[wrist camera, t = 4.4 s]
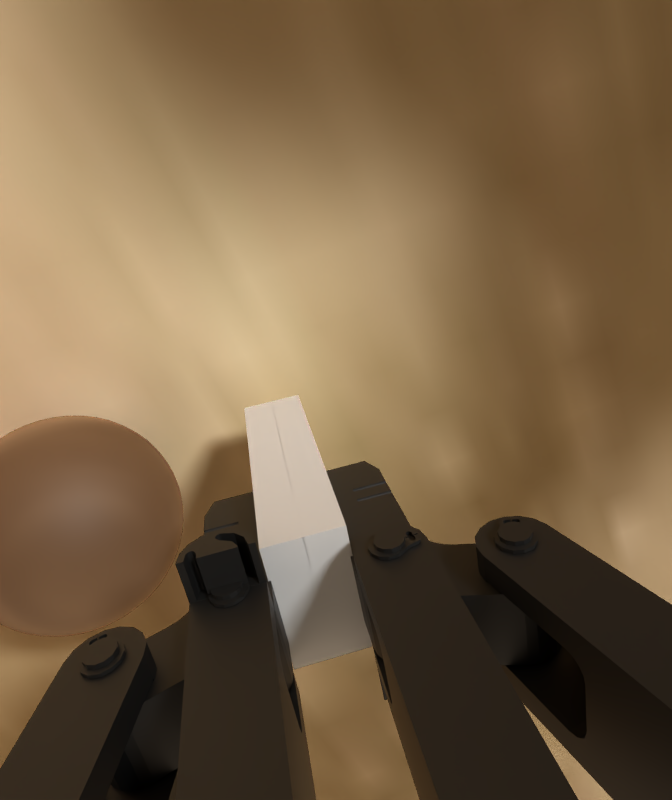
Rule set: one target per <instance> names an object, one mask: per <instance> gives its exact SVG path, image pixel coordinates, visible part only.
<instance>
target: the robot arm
mask: <svg viewBox="0 0 672 800" xmlns="http://www.w3.org/2000/svg"><path fill="white" fill-rule="evenodd" d="M244 409H245V419H246V428H247V438H248V447H249V457H250V467H251V476H252V486H253V492H251V493H247V494H243V495H239V496H235V497H231V498H228V499H224V500H220V501H216V502H214V503H213V505H212V506H211V508H210V509H209V511H208V512H207V514H206V515H205V520H204V535H203V536H201V537H199V538H198V539H196V540H195V541H193V542H191V543H190V544H188V545H187V547H186V548H185V549H184V550H183V551H182V552H181V553H180V554H179V556H178V559H177V561H176V567H177V570H178V572H179V575H180V578H181V581H182V584H183V586H184V589H185V592H186V595H187V597H188V600H189V603H190V606H189V612H188V613H187V614H186V615H185V616H183V617H182V618H181V619H180V620H179V621H177V622H176V623H174V624H172V625H171V626H169V627H168V628H166V629H164V630H162V631H160V632H158V633H156V634H154V635H152V636H151V637H149V638H147V639H145V637H144V635H143V632H141V631H139V630H137V629H136V628H134V627H116V628H113V629H109V630H105V631H103V632H101V633H99V634H97V635H95V636H93V637H91V638H89V639H87V640H86V641H85V642H83V643H82V644H81V645H80V646H78V647H77V648H76V649H75V650H74V651H73V652H72V653H71V654H70V656H69V657H68V658H67V659H66V661H65V662H64V663H63V665H62V666H61V668H60V670H59V671H58V673H57V675H56V676H55V678H54V680H53V681H52V683H51V685H50V686H49V688H48V690H47V691H46V693H45V695H44V697H43V698H42V700H41V702H40V703H39V705H38V707H37V708H36V710H35V712H34V713H33V715H32V717H31V718H30V720H29V722H28V723H27V725H26V727H25V728H24V730H23V732H22V733H21V735H20V737H19V738H18V740H17V742H16V743H15V745H14V747H13V748H12V750H11V752H10V753H9V755H8V757H7V758H6V760H5V762H4V764H3V765H2V767H1V769H0V800H316V796H315V790H314V783H313V777H312V771H311V764H310V758H309V751H308V745H307V739H306V732H305V726H304V720H303V713H302V707H301V701H300V694H299V690H298V687H297V684H296V680H295V677H294V673H293V668H294V669H298V668H301V667H304V666H308V665H311V664H315V663H318V662H321V661H325V660H328V659H331V658H335V657H338V656H342V655H345V654H348V653H352V652H355V651H358V650H362V649H365V648H369V647H372V645H373V649H374V653H375V658H376V663H377V667H378V672H379V677H380V681H381V686H382V690H383V695H384V700H387V699H388V702H389V705H390V709H391V712H392V715H393V718H394V721H395V724H396V727H397V730H398V734H399V737H400V740H401V743H402V746H403V749H404V752H405V755H406V759H407V762H408V765H409V768H410V771H411V774H412V777H413V780H414V784H415V787H416V790H417V793H418V796H419V799H420V800H578V798H577V796H576V795H575V793H574V791H573V790H572V788H571V786H570V784H569V783H568V781H567V779H566V777H565V776H564V774H563V772H562V771H561V769H560V767H559V765H558V764H557V762H556V760H555V758H554V757H553V755H552V753H551V752H550V750H549V748H548V746H547V745H546V743H545V741H544V739H543V738H542V736H541V734H540V733H539V731H538V729H537V727H536V726H535V724H534V722H533V720H532V719H531V717H530V715H529V713H528V712H527V710H526V708H525V707H524V705H525V706H526V707H527V708H528V709H529V710H530V711H531V712H532V713H533V714H534V715H535V716H536V717H537V718H538V719H539V721H540V722H541V723H542V724H543V725H544V726H545V727H546V728H547V729H548V730H549V731H550V732H551V733H552V734H553V736H554V737H555V738H556V739H557V740H558V741H559V742H560V743H561V744H562V745H563V746H564V747H565V748H566V749H567V750H568V752H569V753H570V754H571V755H572V756H573V757H574V758H575V759H576V760H577V761H578V762H579V763H580V764H581V765H582V767H583V768H584V769H585V770H586V771H587V772H588V773H589V774H590V775H591V776H592V777H593V778H594V779H595V780H596V781H597V783H598V784H599V785H600V786H601V787H602V788H603V789H604V790H605V791H606V792H607V793H608V794H609V795H610V796H611V798H612V799H613V800H672V605H671V604H670V603H668V602H667V601H665V600H664V599H662V598H660V597H659V596H657V595H656V594H654V593H653V592H651V591H650V590H648V589H646V588H645V587H643V586H642V585H640V584H639V583H637V582H636V581H634V580H632V579H631V578H629V577H628V576H626V575H625V574H623V573H622V572H620V571H618V570H617V569H615V568H614V567H612V566H611V565H609V564H608V563H606V562H604V561H603V560H601V559H600V558H598V557H597V556H595V555H594V554H592V553H590V552H589V551H587V550H586V549H584V548H583V547H581V546H580V545H578V544H576V543H575V542H573V541H572V540H570V539H569V538H567V537H566V536H564V535H562V534H561V533H559V532H558V531H556V530H555V529H553V528H552V527H550V526H548V525H547V524H545V523H543V522H540V521H538V520H536V519H533V518H527V517H521V516H512V517H502V518H499V519H495V520H492V521H490V522H488V523H487V524H485V525H484V526H482V527H481V528H480V529H479V531H478V533H477V534H476V536H475V541H476V544H458V545H449V544H439V543H434V542H431V541H428V539H427V537H426V536H425V535H424V534H423V533H422V532H421V531H420V530H419V529H416V528H414V527H411V526H410V524H409V522H408V521H407V519H406V517H405V515H404V513H403V512H402V510H401V508H400V506H399V504H398V503H397V501H396V499H395V497H394V495H393V494H392V493H391V490H390V488H389V486H388V485H387V483H386V482H385V479H384V477H383V476H382V474H381V472H380V470H379V469H378V468H376V467H374V466H373V465H371V464H369V463H367V462H365V461H363V462H359V463H355V464H351V465H348V466H344V467H340V468H336V469H332V470H328V471H326V469H325V466H324V464H323V461H322V458H321V456H320V453H319V450H318V447H317V445H316V442H315V439H314V437H313V434H312V431H311V428H310V426H309V423H308V420H307V418H306V415H305V412H304V409H303V407H302V404H301V401H300V398H299V396H298V395H295V396H291V397H287V398H283V399H279V400H275V401H271V402H267V403H263V404H259V405H254V406H250V407H246V408H244ZM371 642H372V643H371ZM292 664H293V667H292ZM522 702H523V703H524V705H523V703H522Z"/></svg>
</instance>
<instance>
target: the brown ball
mask: <svg viewBox="0 0 672 800" xmlns="http://www.w3.org/2000/svg"><path fill="white" fill-rule="evenodd" d="M182 530H183V504H182V498H181V493H180V489H179V486H178V483H177V481H176V478H175V476H174V473H173V471H172V470H171V468H170V466H169V464H168V463H167V461H166V460H165V459H164V457H163V456H162V455H161V454H160V452H159V451H158V450H157V449H156V448H155V447H154V446H153V445H152V444H151V443H150V442H149V441H148V440H146V439H145V438H143V437H142V436H141V435H139V434H138V433H136V432H134V431H132V430H130V429H129V428H127V427H125V426H123V425H120V424H117V423H115V422H112V421H109V420H105V419H101V418H97V417H88V416H62V417H53V418H49V419H44V420H40V421H37V422H34V423H31V424H28V425H25V426H23V427H21V428H19V429H17V430H14V431H12V432H10V433H9V434H7V435H6V436H4V437H2V438H1V439H0V624H1V625H3V626H6V627H8V628H10V629H13V630H15V631H19V632H22V633H26V634H32V635H38V636H70V635H76V634H82V633H86V632H90V631H93V630H96V629H99V628H102V627H104V626H107V625H109V624H111V623H113V622H115V621H117V620H119V619H120V618H122V617H124V616H125V615H127V614H128V613H130V612H131V611H133V610H134V609H135V608H136V607H138V606H139V605H140V604H142V603H143V602H144V601H145V600H146V599H147V598H148V597H149V596H150V595H151V594H152V593H153V592H154V591H155V589H156V588H157V587H158V586H159V585H160V583H161V582H162V580H163V579H164V577H165V576H166V574H167V572H168V571H169V569H170V567H171V565H172V563H173V561H174V559H175V556H176V554H177V551H178V548H179V544H180V540H181V535H182Z"/></svg>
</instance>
